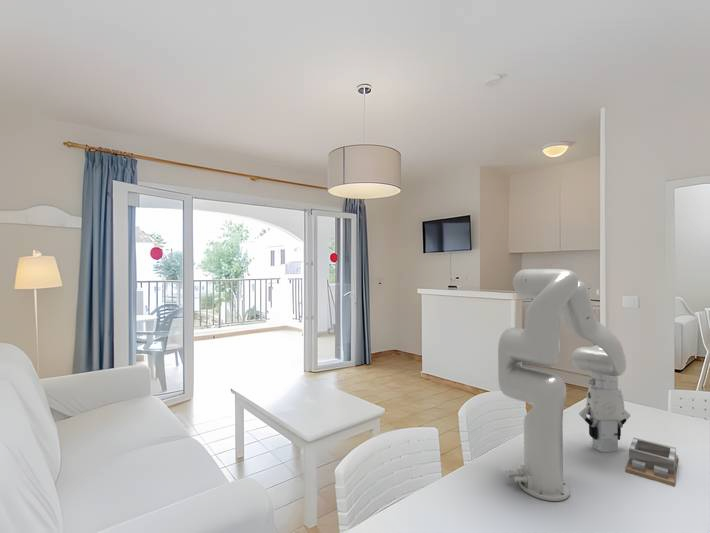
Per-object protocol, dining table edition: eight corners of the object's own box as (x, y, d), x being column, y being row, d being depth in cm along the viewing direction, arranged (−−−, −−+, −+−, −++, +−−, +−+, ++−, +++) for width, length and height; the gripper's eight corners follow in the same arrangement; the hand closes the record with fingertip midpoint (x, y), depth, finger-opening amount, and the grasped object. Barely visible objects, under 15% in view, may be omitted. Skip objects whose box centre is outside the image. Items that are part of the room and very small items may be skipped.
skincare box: (601, 452, 122) (601, 415, 122) (591, 446, 126) (591, 410, 126) (619, 451, 123) (618, 414, 123) (608, 445, 127) (607, 408, 127)
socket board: (674, 486, 103) (674, 468, 103) (625, 471, 110) (625, 454, 110) (678, 458, 118) (678, 442, 118) (634, 447, 125) (634, 432, 125)
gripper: (583, 387, 121) (584, 442, 121) (639, 387, 120) (640, 443, 120) (571, 380, 129) (571, 432, 129) (623, 380, 128) (624, 433, 128)
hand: (604, 437), depth 124 cm, fingers closed on skincare box, 6 cm apart
